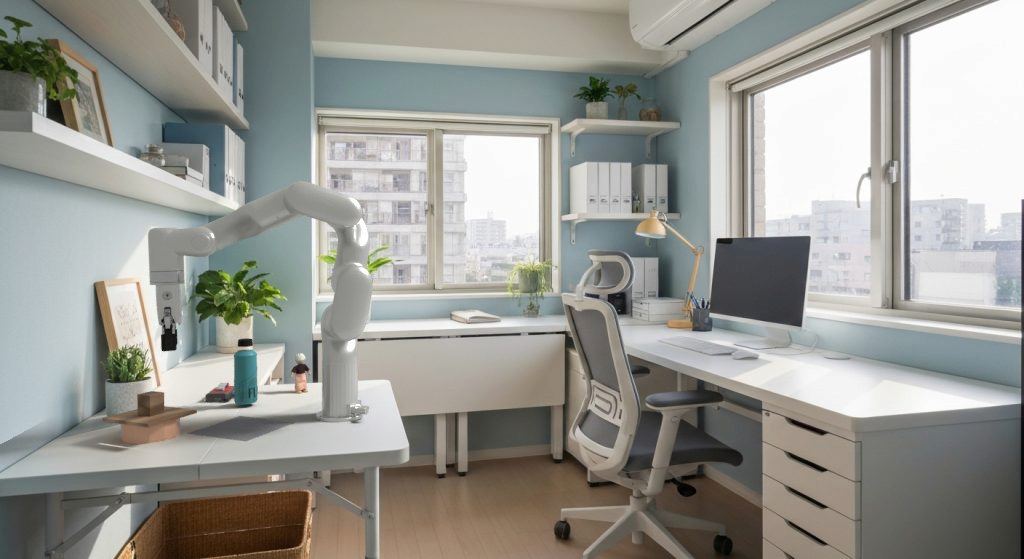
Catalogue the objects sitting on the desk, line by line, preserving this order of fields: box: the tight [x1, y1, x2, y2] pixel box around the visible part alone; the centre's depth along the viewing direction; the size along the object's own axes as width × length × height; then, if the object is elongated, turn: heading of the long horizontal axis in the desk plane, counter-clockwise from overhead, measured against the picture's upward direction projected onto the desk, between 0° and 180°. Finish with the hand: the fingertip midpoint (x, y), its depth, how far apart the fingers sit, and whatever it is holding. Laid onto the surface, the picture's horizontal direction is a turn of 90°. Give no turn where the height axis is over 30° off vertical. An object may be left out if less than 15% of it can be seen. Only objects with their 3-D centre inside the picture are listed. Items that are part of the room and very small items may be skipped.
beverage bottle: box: [233, 338, 259, 405], centre depth 185 cm, size 6×7×20 cm
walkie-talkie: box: [205, 382, 234, 404], centre depth 200 cm, size 9×4×20 cm
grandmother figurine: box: [289, 352, 312, 394], centre depth 206 cm, size 8×4×13 cm, turn 154°
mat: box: [187, 415, 296, 442], centre depth 163 cm, size 18×18×1 cm
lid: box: [102, 390, 198, 427], centre depth 154 cm, size 14×14×6 cm
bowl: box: [120, 418, 181, 445], centre depth 154 cm, size 12×12×5 cm
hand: (169, 347), depth 156 cm, fingers open, 9 cm apart
